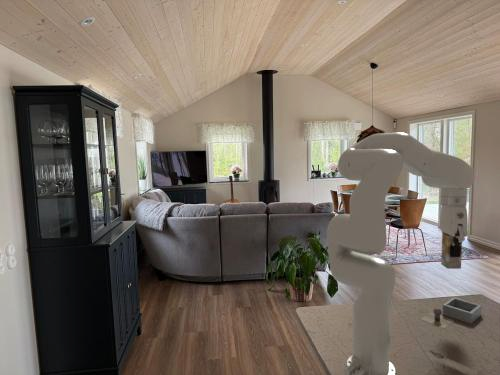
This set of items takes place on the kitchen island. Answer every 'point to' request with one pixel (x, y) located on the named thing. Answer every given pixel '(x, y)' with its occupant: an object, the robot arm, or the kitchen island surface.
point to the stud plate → (438, 323)
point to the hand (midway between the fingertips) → (451, 253)
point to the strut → (446, 259)
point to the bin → (462, 310)
